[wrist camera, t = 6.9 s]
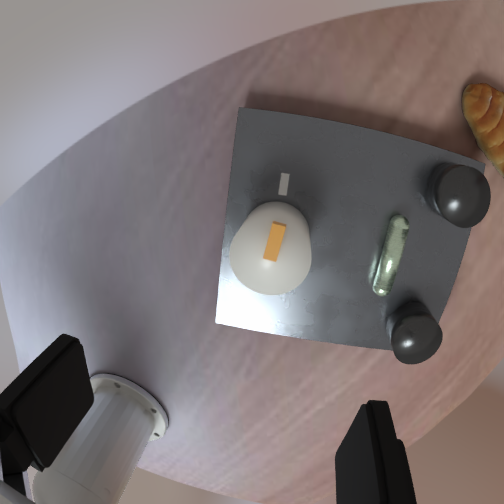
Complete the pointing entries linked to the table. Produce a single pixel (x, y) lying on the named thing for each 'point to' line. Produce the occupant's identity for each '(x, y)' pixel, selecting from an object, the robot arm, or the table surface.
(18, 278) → the table surface
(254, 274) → the oval dial with ridge
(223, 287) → the base
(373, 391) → the table surface
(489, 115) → the pastry
